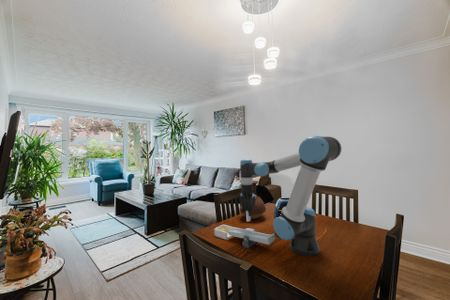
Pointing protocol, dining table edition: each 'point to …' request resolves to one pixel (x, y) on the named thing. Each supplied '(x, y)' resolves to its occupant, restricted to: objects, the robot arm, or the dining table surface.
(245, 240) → the trunnion stand
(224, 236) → the dish
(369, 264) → the dining table surface
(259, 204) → the vase
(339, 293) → the dining table surface
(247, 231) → the seesaw
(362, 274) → the dining table surface
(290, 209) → the robot arm
